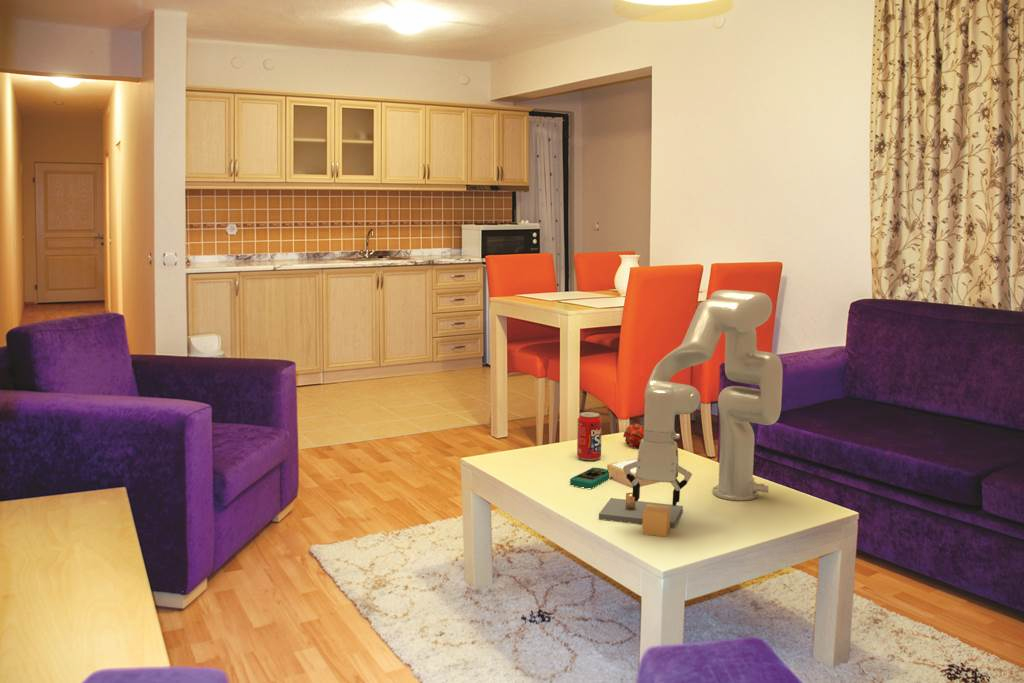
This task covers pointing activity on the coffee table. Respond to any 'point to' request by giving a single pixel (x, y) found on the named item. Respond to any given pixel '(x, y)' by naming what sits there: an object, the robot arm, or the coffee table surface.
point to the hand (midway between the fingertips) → (655, 502)
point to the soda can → (589, 436)
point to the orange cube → (656, 520)
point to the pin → (630, 501)
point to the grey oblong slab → (634, 511)
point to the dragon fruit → (634, 435)
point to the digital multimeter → (590, 478)
